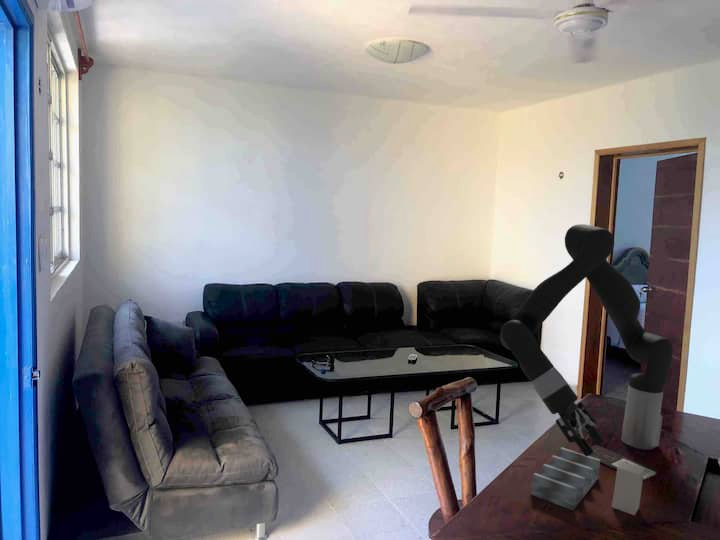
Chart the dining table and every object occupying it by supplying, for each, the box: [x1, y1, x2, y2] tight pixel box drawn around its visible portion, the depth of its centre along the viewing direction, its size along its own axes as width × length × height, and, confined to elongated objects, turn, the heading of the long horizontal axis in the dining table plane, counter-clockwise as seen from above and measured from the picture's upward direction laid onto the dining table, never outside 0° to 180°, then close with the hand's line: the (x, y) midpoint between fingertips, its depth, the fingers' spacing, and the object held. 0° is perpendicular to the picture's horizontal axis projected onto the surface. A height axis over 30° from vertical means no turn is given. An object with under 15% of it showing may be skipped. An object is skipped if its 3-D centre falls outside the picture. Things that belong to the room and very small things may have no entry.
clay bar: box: [611, 462, 644, 516], centre depth 137 cm, size 5×4×10 cm
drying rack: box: [530, 447, 601, 511], centre depth 146 cm, size 10×20×5 cm, turn 143°
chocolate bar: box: [578, 444, 659, 481], centre depth 161 cm, size 9×1×18 cm
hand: (595, 448), depth 141 cm, fingers open, 8 cm apart
